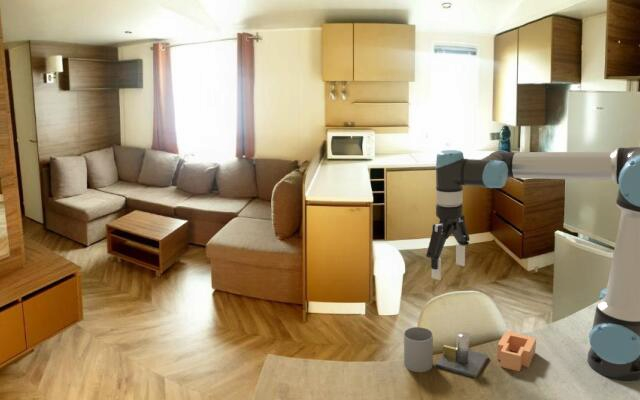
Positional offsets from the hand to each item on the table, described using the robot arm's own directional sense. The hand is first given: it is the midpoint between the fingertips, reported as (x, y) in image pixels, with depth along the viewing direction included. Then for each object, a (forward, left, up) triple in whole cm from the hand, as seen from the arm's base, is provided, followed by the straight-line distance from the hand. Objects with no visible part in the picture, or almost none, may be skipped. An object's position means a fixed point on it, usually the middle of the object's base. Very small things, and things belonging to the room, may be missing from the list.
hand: (448, 271), depth 162 cm
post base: (-7, +6, -25) cm, 27 cm away
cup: (+4, +13, -26) cm, 29 cm away
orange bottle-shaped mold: (-20, -3, -25) cm, 32 cm away
